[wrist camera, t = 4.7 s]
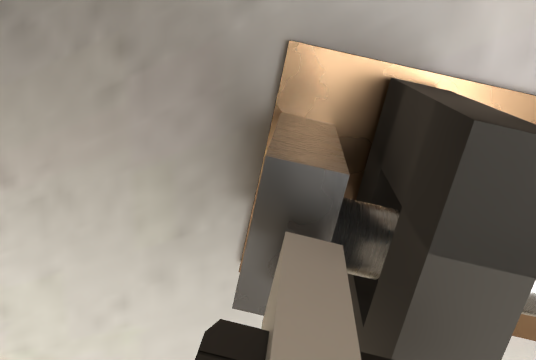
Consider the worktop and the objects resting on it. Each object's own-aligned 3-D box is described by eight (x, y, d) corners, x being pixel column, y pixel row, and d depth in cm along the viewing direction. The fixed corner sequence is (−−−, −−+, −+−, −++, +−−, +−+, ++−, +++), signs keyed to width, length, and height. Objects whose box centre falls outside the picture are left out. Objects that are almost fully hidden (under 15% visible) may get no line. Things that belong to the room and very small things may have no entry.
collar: (328, 294, 22) (345, 491, 13) (391, 77, 19) (474, 120, 10) (380, 305, 22) (435, 512, 13) (450, 90, 19) (593, 147, 10)
